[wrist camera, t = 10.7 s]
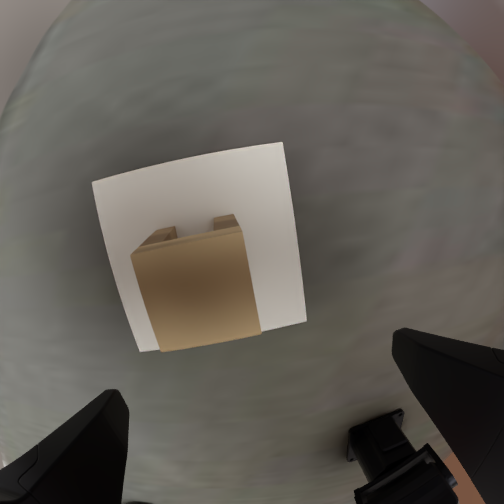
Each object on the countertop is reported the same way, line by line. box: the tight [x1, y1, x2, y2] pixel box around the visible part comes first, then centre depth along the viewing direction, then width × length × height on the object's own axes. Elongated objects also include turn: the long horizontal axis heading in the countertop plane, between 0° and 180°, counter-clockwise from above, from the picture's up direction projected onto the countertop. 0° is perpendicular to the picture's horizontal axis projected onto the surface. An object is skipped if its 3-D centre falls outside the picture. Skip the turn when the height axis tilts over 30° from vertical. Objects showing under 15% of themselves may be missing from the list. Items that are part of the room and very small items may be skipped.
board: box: [92, 142, 307, 352], centre depth 19 cm, size 12×12×1 cm
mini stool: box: [130, 214, 262, 352], centre depth 15 cm, size 5×5×6 cm
